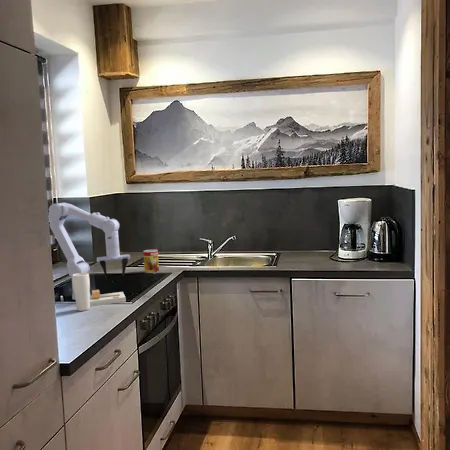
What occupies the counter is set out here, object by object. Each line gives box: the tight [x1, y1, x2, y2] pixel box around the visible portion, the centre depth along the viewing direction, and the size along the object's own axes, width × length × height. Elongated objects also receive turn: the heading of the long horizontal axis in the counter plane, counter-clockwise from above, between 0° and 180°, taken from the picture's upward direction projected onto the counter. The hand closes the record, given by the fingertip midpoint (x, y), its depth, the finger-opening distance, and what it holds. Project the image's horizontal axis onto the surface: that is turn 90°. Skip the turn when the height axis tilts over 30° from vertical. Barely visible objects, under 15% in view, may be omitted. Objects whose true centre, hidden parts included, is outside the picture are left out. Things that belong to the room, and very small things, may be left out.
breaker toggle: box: [91, 289, 101, 299], centre depth 234 cm, size 5×3×3 cm, turn 17°
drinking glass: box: [71, 273, 91, 312], centre depth 222 cm, size 7×7×15 cm
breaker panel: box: [90, 291, 127, 307], centre depth 235 cm, size 11×16×2 cm
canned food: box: [142, 249, 160, 273], centre depth 295 cm, size 8×8×12 cm
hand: (114, 276), depth 241 cm, fingers open, 7 cm apart
